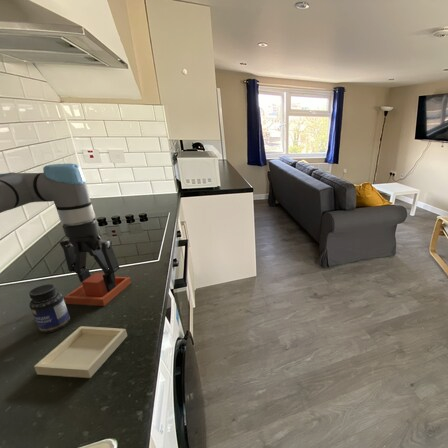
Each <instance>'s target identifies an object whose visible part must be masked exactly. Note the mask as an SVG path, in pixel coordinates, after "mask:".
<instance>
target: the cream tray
mask: <svg viewBox="0 0 448 448" xmlns="http://www.w3.org/2000/svg"><path fill="white" fill-rule="evenodd" d="M127 337H128V332H127V329H126V328H115V327H103V326H101V327H99V326H98V327H97V326H82V325H81V326H79V327H78V328H76V330H74V331H73V332H72V333H71V334H69V335H68V336H67V337H66V338H65V339H64V340H63V341H61V342H60V343H59V344H58V345H56V346H55V347H54V348H53V349H52V350H51V351H50V352H49V353H48V354H47V355H44V357H43V358H41V359H40V360H39V361H38V362H37V363H36V364H35V365H33V368H34V370H35V373H36V375H40V376H53V377H54V376H55V377H68V378H83V379H84V378H85V379H91V378H92V377H93V376H94V375H95V374H96V372H97V371H98V370H99V369H100V368H101V367H102V366H103V364H104V363H106V361H107V360H108V359H109V357H111V355H112V354H113V353H114V352H115V351H116V350H117V348H119V347H120V345H121V344H122V343H123V342H124V341H125V340H126V338H127Z"/></svg>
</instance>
